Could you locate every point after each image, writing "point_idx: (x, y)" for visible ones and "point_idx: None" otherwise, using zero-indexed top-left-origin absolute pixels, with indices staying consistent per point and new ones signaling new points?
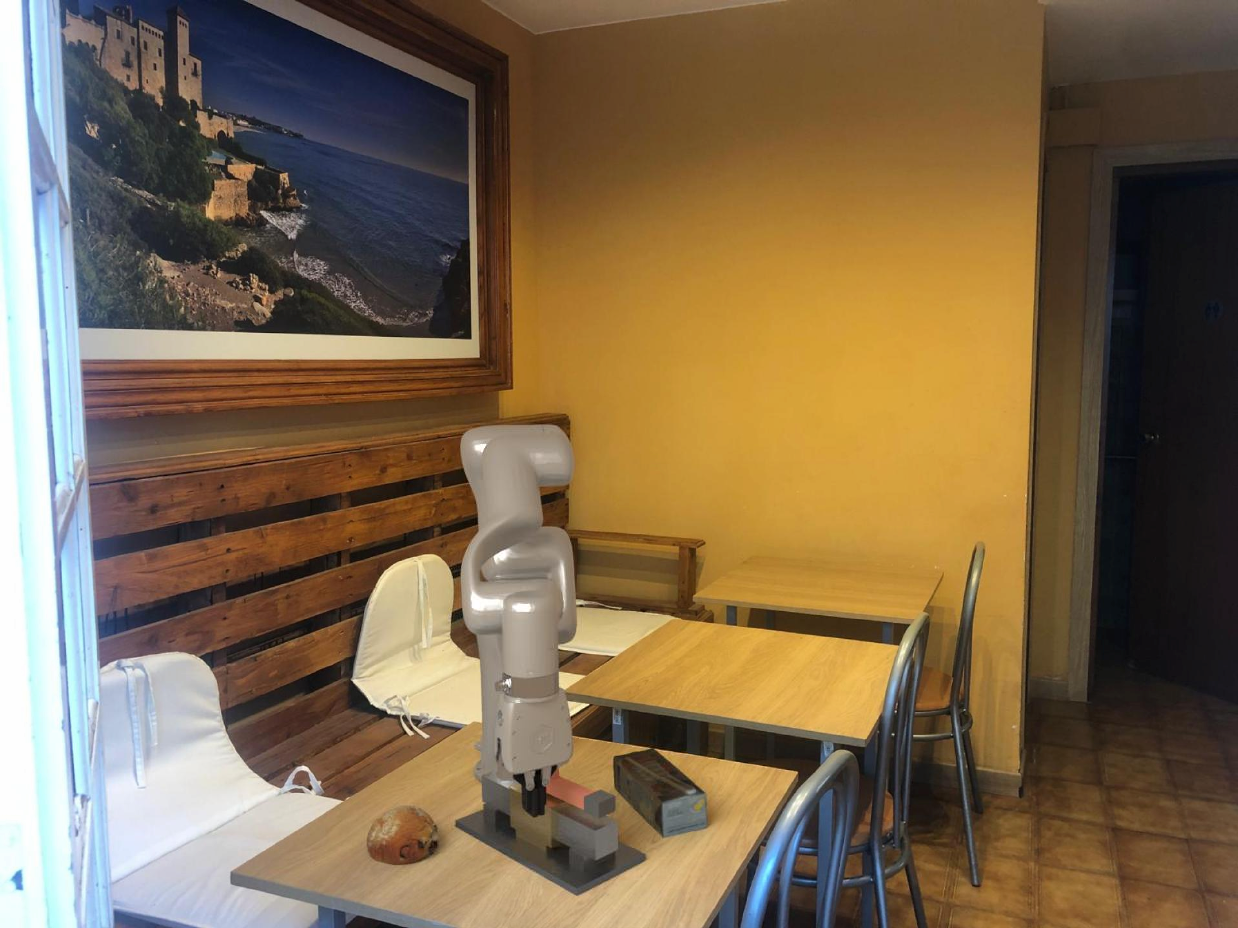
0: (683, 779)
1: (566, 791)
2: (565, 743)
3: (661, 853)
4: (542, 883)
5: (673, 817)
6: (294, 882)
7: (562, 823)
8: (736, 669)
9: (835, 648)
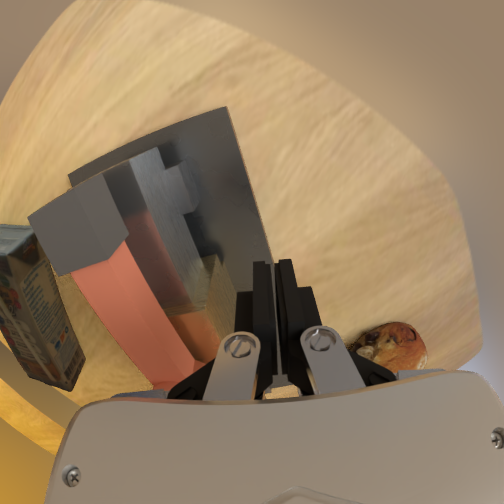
0: None
1: (152, 326)
2: (87, 496)
3: (50, 183)
4: (267, 179)
5: (12, 238)
6: (478, 324)
7: (186, 268)
8: (13, 412)
9: None
